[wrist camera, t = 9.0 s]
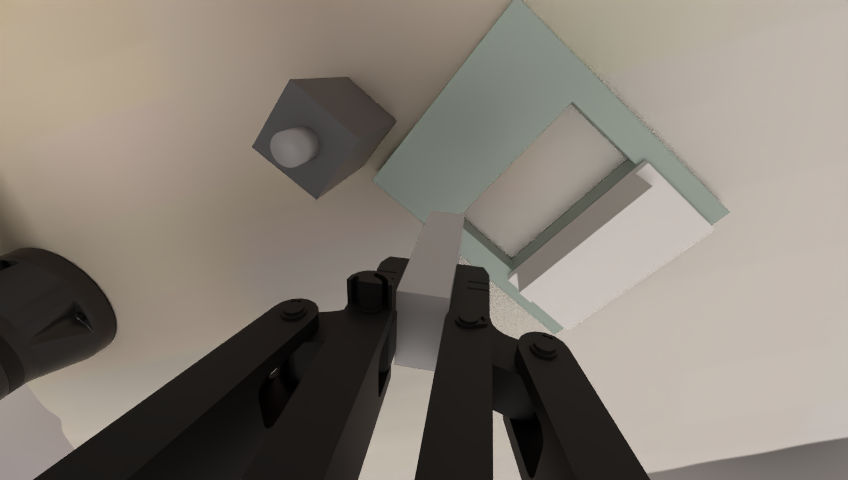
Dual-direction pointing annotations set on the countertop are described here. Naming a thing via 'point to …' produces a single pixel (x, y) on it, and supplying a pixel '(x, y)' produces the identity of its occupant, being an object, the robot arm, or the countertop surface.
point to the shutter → (610, 247)
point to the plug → (322, 132)
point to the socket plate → (518, 138)
